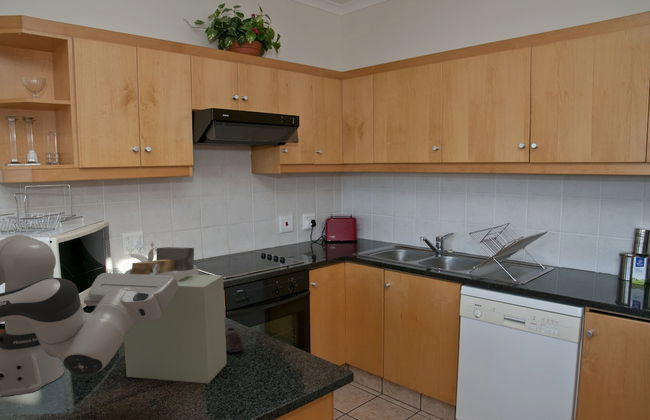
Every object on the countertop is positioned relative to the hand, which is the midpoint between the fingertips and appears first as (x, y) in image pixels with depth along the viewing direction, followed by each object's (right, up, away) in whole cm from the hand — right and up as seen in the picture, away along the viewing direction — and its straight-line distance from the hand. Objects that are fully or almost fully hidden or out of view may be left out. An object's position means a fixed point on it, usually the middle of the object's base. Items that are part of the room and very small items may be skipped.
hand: (148, 265), depth 116 cm
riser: (+3, -31, +14) cm, 34 cm away
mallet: (+1, -2, +6) cm, 6 cm away
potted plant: (-32, -25, +84) cm, 94 cm away
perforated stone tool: (+14, -30, +30) cm, 45 cm away
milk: (-10, -27, +59) cm, 66 cm away
